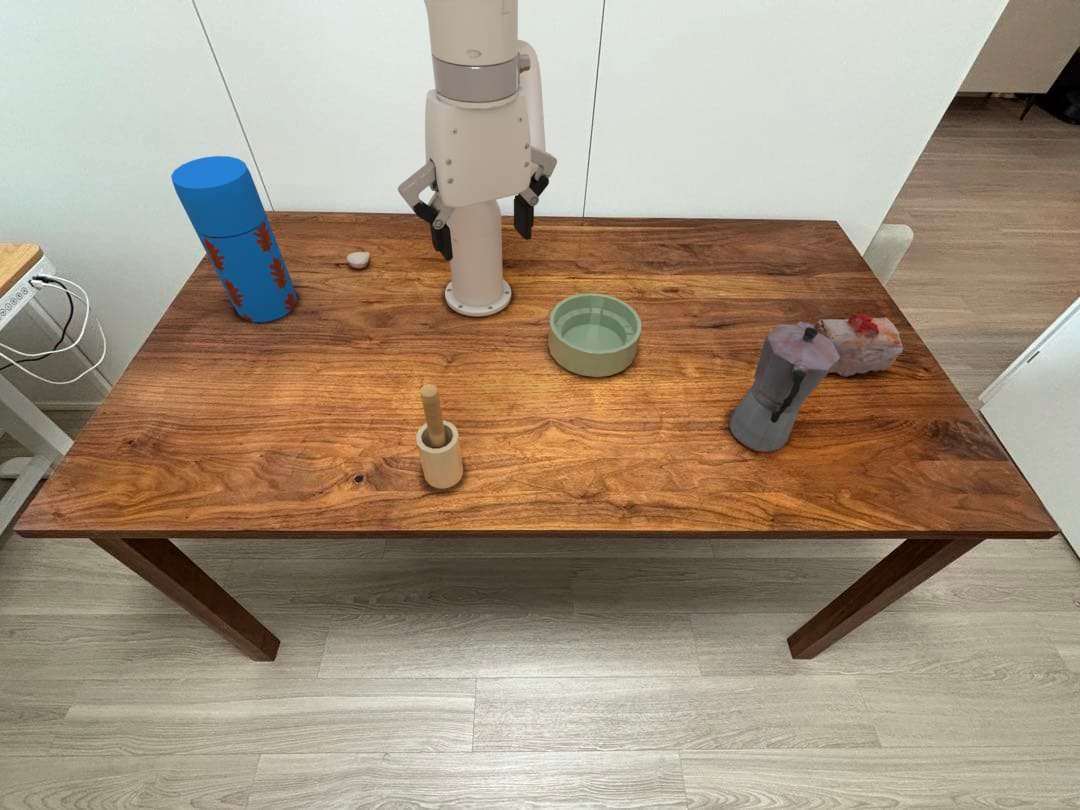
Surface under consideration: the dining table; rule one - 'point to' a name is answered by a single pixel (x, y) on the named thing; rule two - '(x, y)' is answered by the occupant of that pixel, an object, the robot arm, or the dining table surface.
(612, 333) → the bowl
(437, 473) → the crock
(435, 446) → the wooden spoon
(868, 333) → the food item
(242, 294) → the thermos
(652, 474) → the dining table surface
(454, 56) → the robot arm
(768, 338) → the moka pot
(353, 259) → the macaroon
